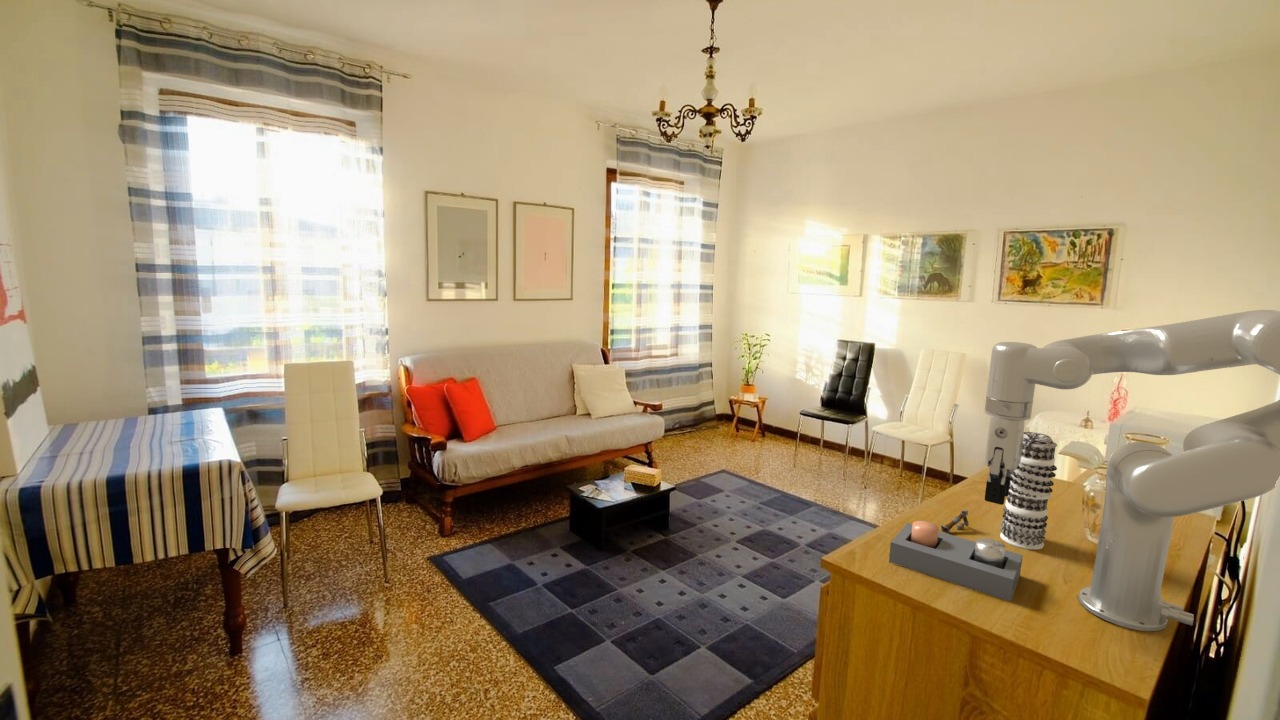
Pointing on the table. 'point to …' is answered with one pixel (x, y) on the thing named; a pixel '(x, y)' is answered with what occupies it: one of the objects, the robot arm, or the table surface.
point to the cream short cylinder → (989, 552)
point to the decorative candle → (1029, 493)
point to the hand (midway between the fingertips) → (996, 497)
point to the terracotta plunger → (925, 533)
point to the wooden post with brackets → (955, 521)
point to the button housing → (957, 563)
